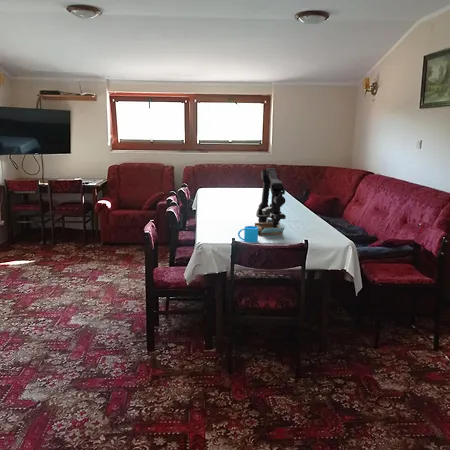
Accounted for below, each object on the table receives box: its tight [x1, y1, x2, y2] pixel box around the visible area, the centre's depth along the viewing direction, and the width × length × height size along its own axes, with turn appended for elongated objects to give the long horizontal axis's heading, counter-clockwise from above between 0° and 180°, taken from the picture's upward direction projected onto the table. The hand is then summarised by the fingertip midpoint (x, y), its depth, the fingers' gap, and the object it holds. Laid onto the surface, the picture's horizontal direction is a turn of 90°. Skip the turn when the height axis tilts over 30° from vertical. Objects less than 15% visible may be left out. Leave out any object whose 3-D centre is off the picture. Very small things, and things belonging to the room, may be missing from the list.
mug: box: [237, 225, 259, 243], centre depth 247 cm, size 12×8×8 cm
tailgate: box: [261, 226, 286, 233], centre depth 259 cm, size 1×14×7 cm
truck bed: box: [254, 221, 284, 236], centre depth 268 cm, size 12×16×6 cm
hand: (274, 227), depth 256 cm, fingers closed
